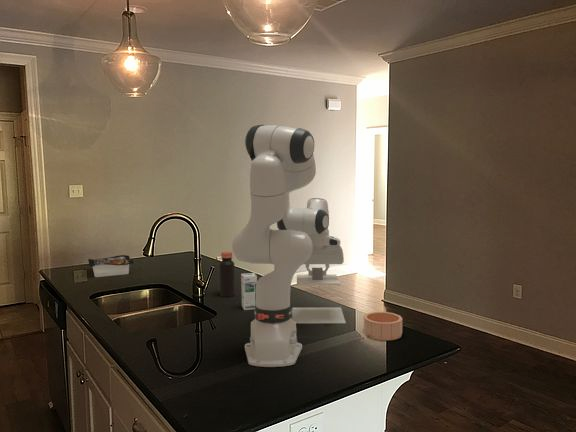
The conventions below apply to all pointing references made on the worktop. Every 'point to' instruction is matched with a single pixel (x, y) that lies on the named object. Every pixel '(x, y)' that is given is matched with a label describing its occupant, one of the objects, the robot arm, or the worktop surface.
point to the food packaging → (111, 265)
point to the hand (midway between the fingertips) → (317, 275)
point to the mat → (318, 315)
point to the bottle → (227, 275)
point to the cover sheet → (317, 279)
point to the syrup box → (248, 290)
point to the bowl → (383, 326)
